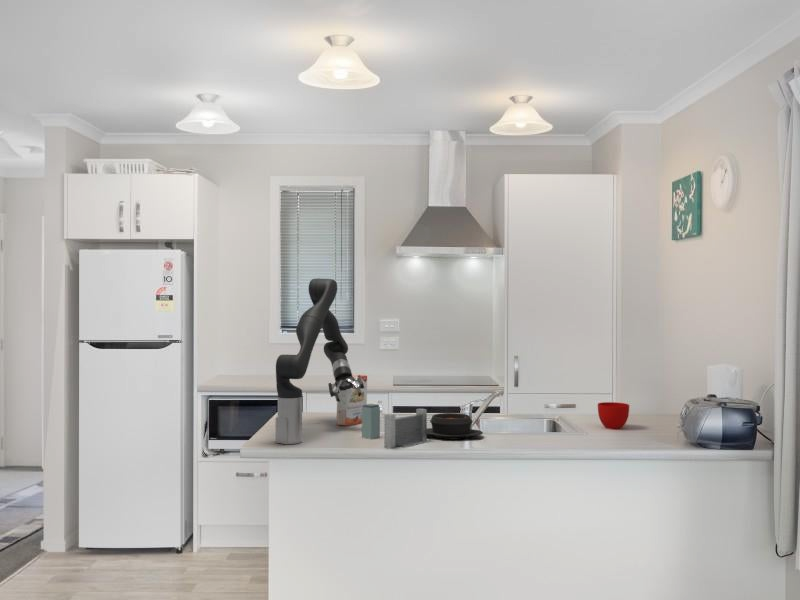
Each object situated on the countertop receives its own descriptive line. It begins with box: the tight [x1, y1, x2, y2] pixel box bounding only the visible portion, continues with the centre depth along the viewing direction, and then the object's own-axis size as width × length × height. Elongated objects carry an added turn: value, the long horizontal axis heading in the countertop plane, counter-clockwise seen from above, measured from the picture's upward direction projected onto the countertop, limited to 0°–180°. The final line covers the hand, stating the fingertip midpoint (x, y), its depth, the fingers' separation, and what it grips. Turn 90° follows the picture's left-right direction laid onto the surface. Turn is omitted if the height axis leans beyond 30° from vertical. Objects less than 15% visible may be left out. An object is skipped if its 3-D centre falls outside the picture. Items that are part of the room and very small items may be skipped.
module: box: [361, 403, 381, 440], centre depth 300 cm, size 5×5×13 cm
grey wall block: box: [383, 408, 429, 449], centre depth 286 cm, size 21×6×12 cm, turn 139°
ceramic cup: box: [597, 401, 630, 430], centre depth 326 cm, size 13×17×10 cm
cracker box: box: [336, 374, 368, 427], centre depth 332 cm, size 14×6×21 cm, turn 143°
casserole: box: [427, 412, 484, 440], centre depth 302 cm, size 25×19×8 cm
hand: (349, 397), depth 309 cm, fingers open, 8 cm apart
